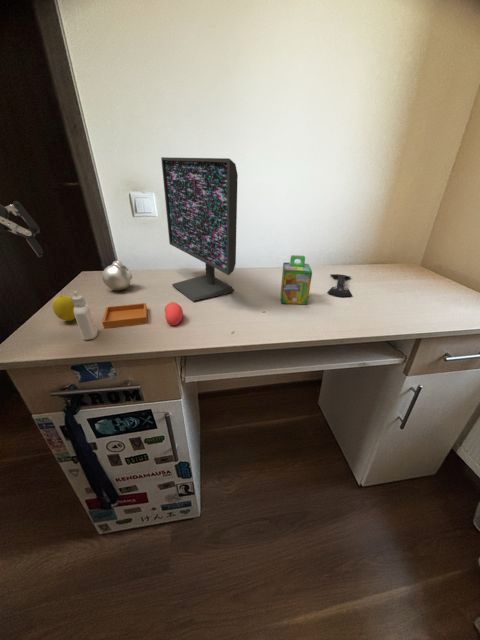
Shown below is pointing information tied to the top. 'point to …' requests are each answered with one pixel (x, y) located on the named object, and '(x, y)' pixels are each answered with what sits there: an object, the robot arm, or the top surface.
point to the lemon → (63, 307)
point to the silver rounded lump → (117, 276)
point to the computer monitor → (202, 218)
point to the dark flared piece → (340, 286)
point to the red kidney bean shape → (173, 313)
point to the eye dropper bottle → (84, 317)
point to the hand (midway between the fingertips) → (18, 264)
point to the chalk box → (296, 281)
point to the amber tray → (125, 315)
